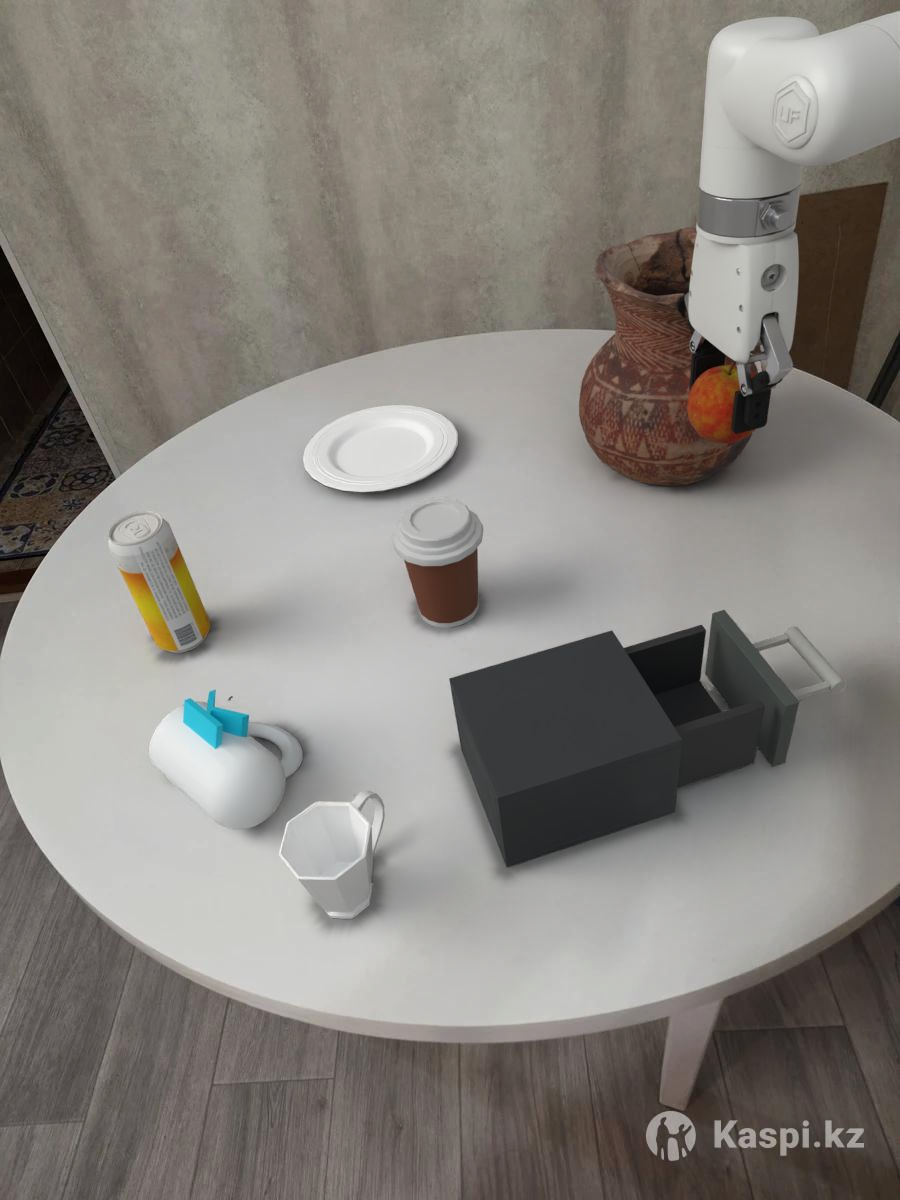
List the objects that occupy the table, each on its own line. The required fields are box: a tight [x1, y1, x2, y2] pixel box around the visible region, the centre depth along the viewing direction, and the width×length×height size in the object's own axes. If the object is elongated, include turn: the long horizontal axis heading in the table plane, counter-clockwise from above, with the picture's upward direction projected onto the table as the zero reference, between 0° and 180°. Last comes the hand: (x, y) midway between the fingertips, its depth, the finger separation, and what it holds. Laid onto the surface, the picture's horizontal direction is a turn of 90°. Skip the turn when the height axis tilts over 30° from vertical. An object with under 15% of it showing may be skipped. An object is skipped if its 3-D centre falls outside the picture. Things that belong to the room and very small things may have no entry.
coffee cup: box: [391, 496, 484, 629], centre depth 88 cm, size 9×9×12 cm
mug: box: [148, 689, 304, 830], centre depth 76 cm, size 12×9×12 cm
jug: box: [578, 226, 759, 487], centre depth 100 cm, size 22×21×25 cm
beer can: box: [107, 510, 211, 654], centre depth 89 cm, size 6×6×15 cm
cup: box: [278, 790, 386, 920], centre depth 67 cm, size 7×10×8 cm
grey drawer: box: [623, 609, 847, 789], centre depth 73 cm, size 20×11×8 cm, turn 106°
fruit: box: [687, 360, 757, 444], centre depth 79 cm, size 7×7×8 cm
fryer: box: [448, 629, 682, 868], centre depth 71 cm, size 15×13×10 cm
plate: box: [302, 404, 459, 494], centre depth 115 cm, size 21×21×2 cm
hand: (726, 407), depth 79 cm, fingers closed on fruit, 7 cm apart
